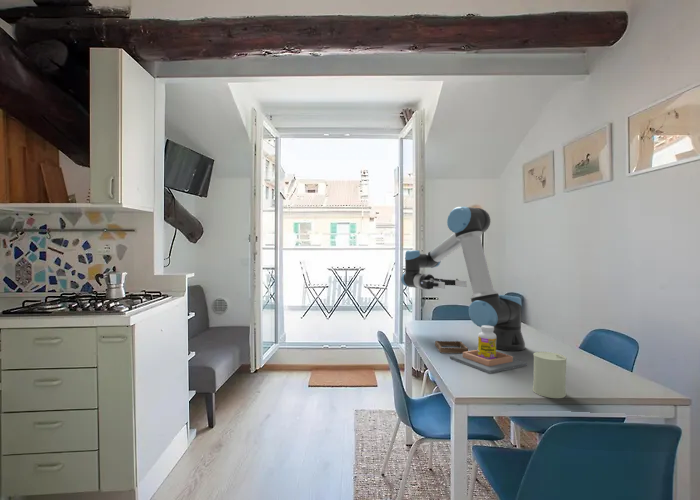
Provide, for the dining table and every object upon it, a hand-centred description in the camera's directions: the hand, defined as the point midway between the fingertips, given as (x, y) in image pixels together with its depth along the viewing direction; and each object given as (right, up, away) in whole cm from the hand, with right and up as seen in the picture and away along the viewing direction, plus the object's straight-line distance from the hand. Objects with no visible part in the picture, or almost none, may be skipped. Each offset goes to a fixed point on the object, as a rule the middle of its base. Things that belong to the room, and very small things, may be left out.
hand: (455, 284), depth 176 cm
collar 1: (-4, -27, -8) cm, 29 cm away
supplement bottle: (+5, -27, -25) cm, 37 cm away
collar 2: (+5, -28, -25) cm, 38 cm away
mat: (+5, -28, -25) cm, 38 cm away
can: (+14, -29, -56) cm, 64 cm away
